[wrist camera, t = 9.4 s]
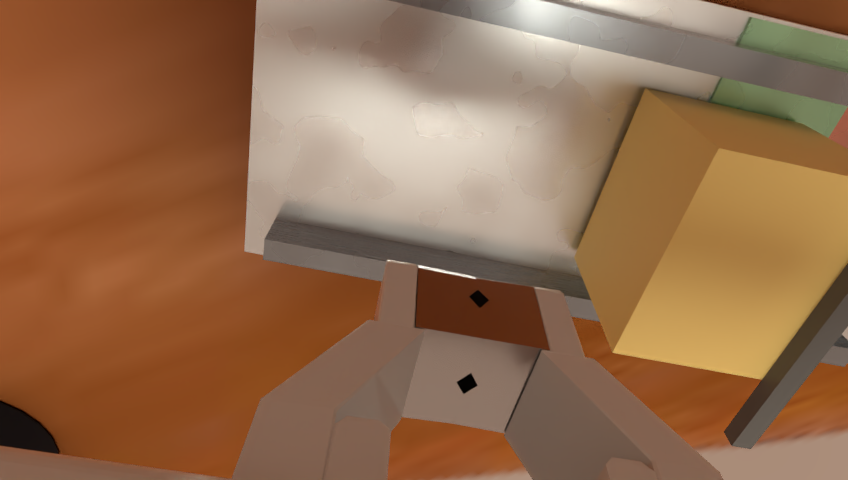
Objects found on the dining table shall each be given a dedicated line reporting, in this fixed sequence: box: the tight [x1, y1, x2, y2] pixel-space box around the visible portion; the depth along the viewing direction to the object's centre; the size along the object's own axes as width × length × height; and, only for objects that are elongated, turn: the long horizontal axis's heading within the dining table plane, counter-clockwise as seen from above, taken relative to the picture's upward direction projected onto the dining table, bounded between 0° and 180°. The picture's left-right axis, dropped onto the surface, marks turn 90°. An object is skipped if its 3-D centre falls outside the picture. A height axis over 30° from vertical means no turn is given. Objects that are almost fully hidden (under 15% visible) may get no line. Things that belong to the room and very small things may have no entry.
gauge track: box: [245, 0, 848, 367], centre depth 16 cm, size 11×26×7 cm, turn 78°
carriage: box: [574, 88, 848, 449], centre depth 15 cm, size 10×9×5 cm
